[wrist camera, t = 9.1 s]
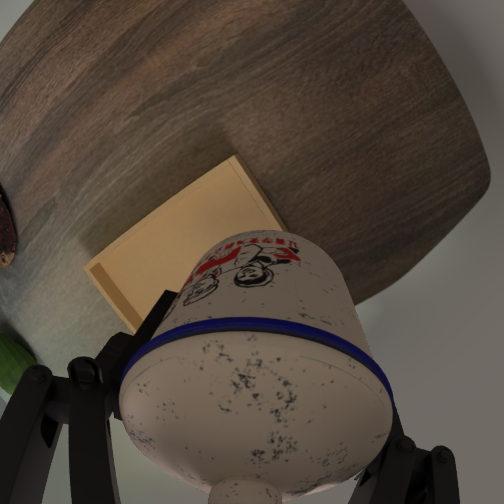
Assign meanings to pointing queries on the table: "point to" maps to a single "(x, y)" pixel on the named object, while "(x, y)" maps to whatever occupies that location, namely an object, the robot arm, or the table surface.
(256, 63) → the table surface
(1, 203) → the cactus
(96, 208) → the table surface
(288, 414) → the teacup with lid
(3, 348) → the fruit
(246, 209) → the tray
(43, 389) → the robot arm
